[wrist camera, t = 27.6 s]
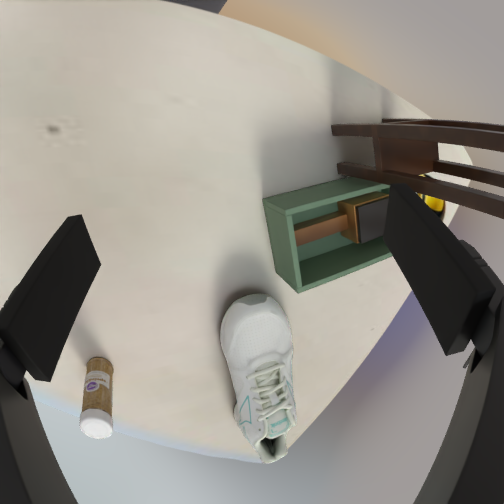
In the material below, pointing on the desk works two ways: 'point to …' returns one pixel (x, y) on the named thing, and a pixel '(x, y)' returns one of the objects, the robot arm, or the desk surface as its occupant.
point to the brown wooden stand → (429, 158)
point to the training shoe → (260, 372)
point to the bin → (325, 249)
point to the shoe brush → (348, 220)
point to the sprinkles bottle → (97, 399)
